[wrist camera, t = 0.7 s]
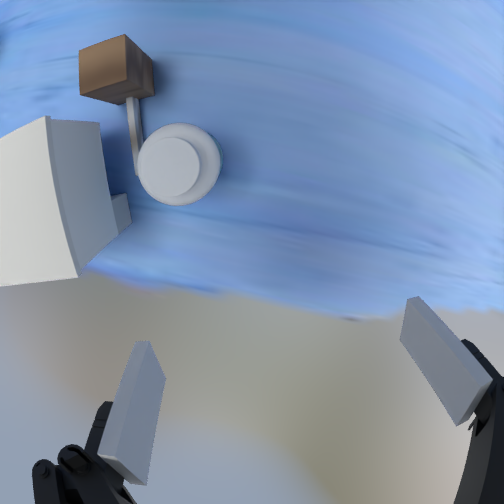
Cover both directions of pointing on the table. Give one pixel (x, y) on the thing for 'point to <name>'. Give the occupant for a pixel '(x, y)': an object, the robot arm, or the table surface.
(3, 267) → the cabinet
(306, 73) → the table surface
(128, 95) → the wood grain block
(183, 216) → the table surface
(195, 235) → the table surface
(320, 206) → the table surface
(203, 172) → the pill bottle
